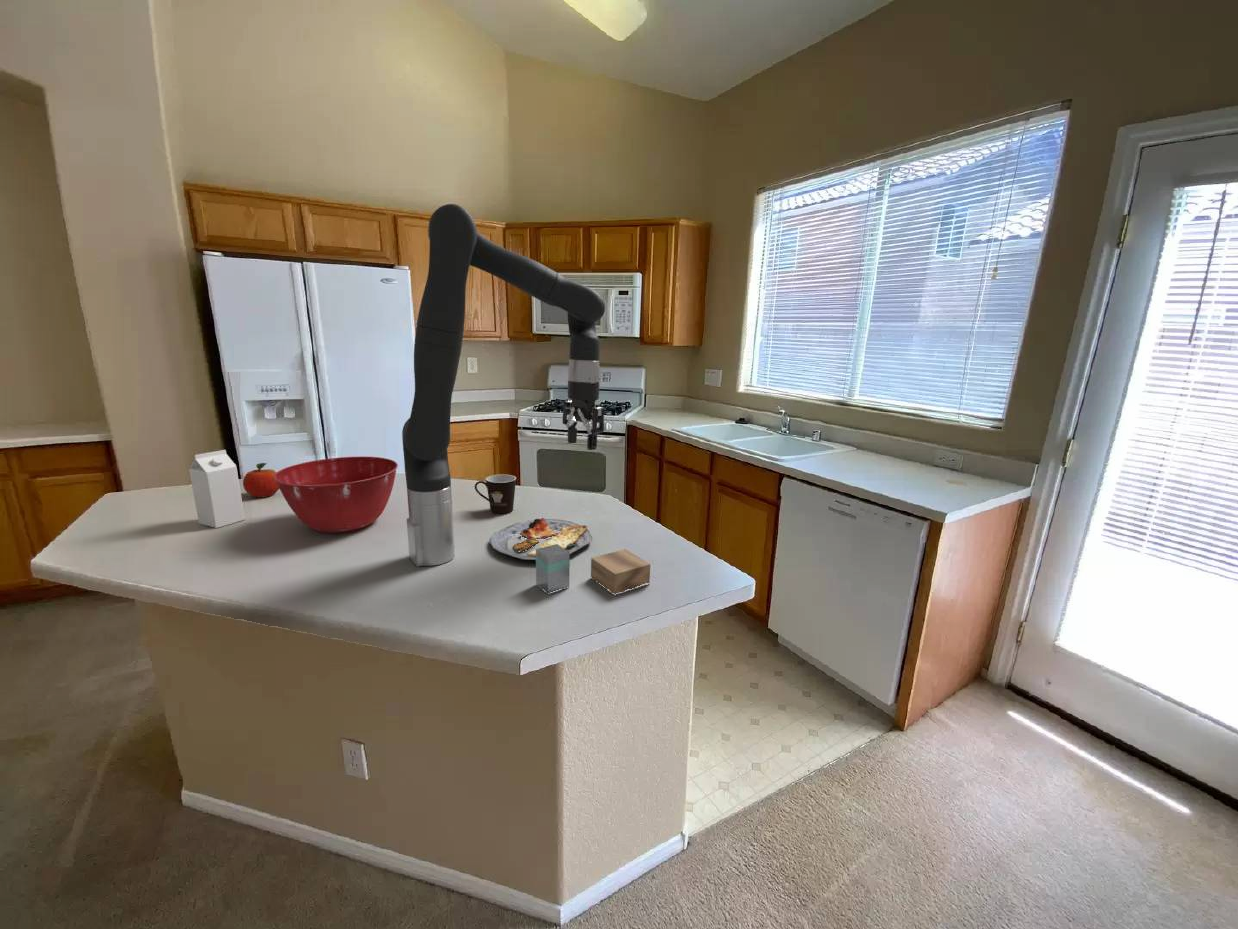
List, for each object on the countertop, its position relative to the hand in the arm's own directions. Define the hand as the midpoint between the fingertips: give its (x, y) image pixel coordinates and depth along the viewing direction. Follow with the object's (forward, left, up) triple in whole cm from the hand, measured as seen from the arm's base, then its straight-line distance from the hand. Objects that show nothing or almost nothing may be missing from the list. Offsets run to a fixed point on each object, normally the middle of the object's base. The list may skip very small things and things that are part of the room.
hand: (581, 446), depth 123 cm
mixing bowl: (-47, +43, -25) cm, 69 cm away
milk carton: (-73, +61, -25) cm, 99 cm away
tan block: (-5, -24, -25) cm, 35 cm away
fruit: (-63, +82, -25) cm, 107 cm away
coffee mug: (-8, +32, -25) cm, 41 cm away
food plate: (-9, +3, -25) cm, 27 cm away
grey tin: (-18, -18, -25) cm, 36 cm away
